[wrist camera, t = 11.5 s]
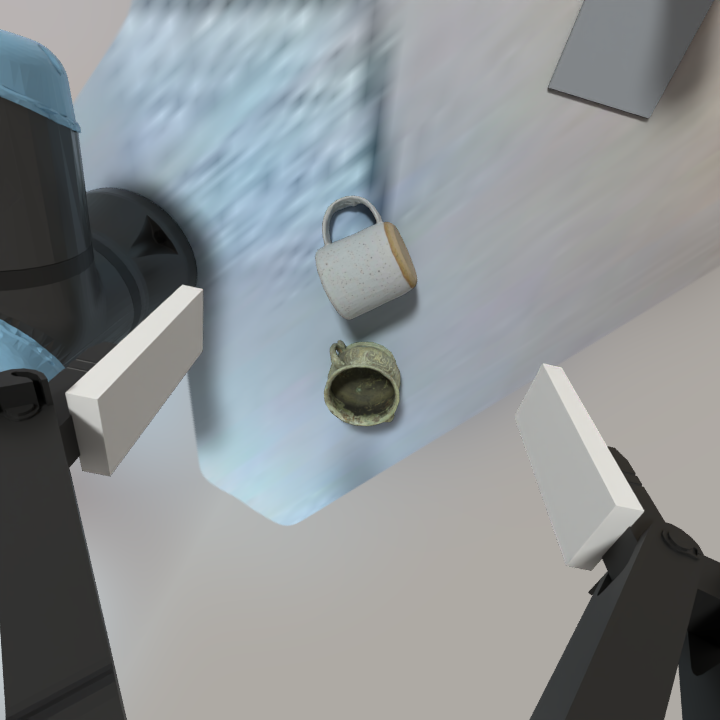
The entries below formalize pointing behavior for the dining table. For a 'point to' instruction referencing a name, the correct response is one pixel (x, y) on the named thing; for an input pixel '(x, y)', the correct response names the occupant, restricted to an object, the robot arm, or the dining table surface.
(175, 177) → the dining table surface
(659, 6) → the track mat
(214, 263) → the dining table surface
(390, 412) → the vessel
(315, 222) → the dining table surface
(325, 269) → the ceramic mug
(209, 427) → the dining table surface
